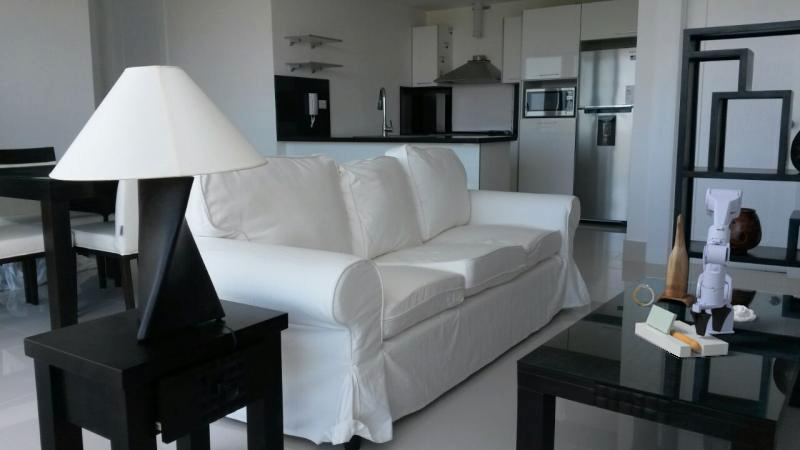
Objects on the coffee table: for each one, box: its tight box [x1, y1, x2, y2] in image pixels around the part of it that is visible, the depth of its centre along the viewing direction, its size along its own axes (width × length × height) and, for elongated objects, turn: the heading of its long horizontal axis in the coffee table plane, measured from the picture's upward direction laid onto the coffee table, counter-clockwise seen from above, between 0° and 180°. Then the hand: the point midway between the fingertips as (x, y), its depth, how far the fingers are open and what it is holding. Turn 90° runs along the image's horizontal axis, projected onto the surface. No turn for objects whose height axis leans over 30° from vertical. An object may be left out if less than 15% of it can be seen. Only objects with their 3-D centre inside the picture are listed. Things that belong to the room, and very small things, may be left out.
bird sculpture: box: [655, 213, 695, 308], centre depth 228 cm, size 11×12×32 cm
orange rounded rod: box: [669, 330, 699, 350], centre depth 180 cm, size 2×12×2 cm, turn 13°
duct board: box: [634, 320, 729, 358], centre depth 185 cm, size 15×21×4 cm
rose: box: [732, 304, 757, 323], centre depth 213 cm, size 10×4×10 cm
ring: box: [632, 283, 656, 307], centre depth 224 cm, size 7×3×8 cm, turn 57°
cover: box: [645, 304, 678, 334], centre depth 187 cm, size 6×10×1 cm
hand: (708, 333), depth 182 cm, fingers open, 7 cm apart
